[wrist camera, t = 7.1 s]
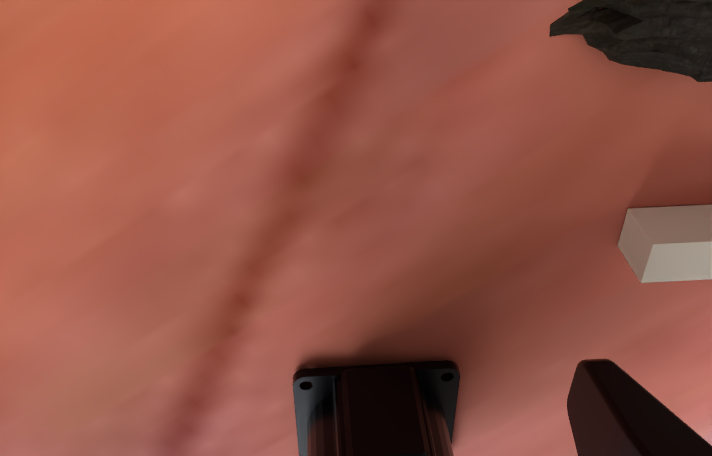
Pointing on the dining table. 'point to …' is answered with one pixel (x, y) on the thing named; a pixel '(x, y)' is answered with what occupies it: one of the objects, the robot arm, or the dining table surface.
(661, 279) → the twin knob post frame
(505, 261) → the dining table surface
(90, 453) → the dining table surface
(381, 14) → the dining table surface
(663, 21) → the wood
